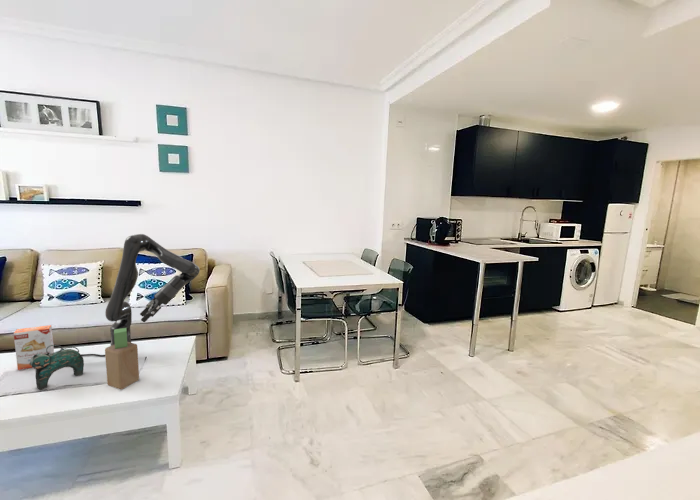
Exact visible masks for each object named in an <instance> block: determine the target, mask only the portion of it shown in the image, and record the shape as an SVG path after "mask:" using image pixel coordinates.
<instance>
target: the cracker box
mask: <svg viewBox="0 0 700 500" xmlns="http://www.w3.org/2000/svg"><path fill="white" fill-rule="evenodd" d="M13 340H14V341H13V342H14V349H15V358H16V368H17V371H21V370H26V369H34V368H33V367H32V366H31V364H30V360H31V358H32V357H33V356H34V355H36V354H40V353H44V354H47V352H48V353H49V355H50V354H52V353H54V352H55V346H50V345H53V344H54V336H53V327H52V324H49V325H40V326H32V327H23V328H17V329H16V330H14V332H13ZM48 346H50V347H48ZM47 347H48V349H47ZM46 349H47V352H46Z"/></svg>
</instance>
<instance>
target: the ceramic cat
mask: <svg viewBox="0 0 700 500" xmlns="http://www.w3.org/2000/svg"><path fill="white" fill-rule="evenodd" d="M55 345H56V344H54V345H50V346H54V347H56V346H55ZM50 346H48V347H50ZM48 347H47V349H48ZM47 349H46V352H47ZM63 349H64V350H63ZM63 349H61V348H60V350H57V351H54V353H52V354H50V355H49V353H48V352H47V354H44V353H40V354H36V355H34V356H33V357H32V358H31V360H30V364H31V366H32V367H33V368H32V369H34V370H35V384H36V389H38V390H39V391H41V390H44V389H47V388H48V384H49V380H50V378H51V376H52V375H53V374H54V373H55V372H57V371H58V370H61V369H64V368H71V369H72V371H73V375H74V376H75V377H80V376H82V375H83V374H84V366H85V361H84V356H81V355H80V354H81V353H80V350H79V348H77V347H76V346H68V347H63ZM75 349H76V350H75Z"/></svg>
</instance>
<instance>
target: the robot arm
mask: <svg viewBox="0 0 700 500" xmlns="http://www.w3.org/2000/svg"><path fill="white" fill-rule="evenodd" d="M122 248H123V249H122V255H121V260H120V265H119V268H118V272H117V275H116V278H115V283H114V286H113V289H112V293H111V295H110V298H109V301H108V302H107V305H106V308H105V311H104V316H105V319H106V320H107V321H109V322H112V323H113V322H114V323H113V324H112V325H111V326H110V328H109V331H110V346H112V345H115V341H114V330H115V329H121V328H126V330H127V342H130V343H132V334H131V333H132V331H131V325H132V319H133V318H132V317H133V314H132V313H133V311H132V306H131V305H130V303H129V302H127V301H125V300H126V298H127V297H128V296H129V295H130V293H131V292H132V291H133V289H134V288H135V285H136V284H137V281H138V276H139V270H138V267H137V263H136V262H137V258H138V255H139V253H141V252H145V251H146V252H149V253H151V254H153V255H154V256H155V257H157V258H158V259H159V261H160V262H161V263H163V264H164V265H166V266H168V267H170V268H172V269H174V270H176V271H178V272H181V273H180V274H176V275H174V276H173V277H171V279H170V280H169V281H168V282H167V283H165V284H164V285H163V286H162V287H161V288H160V289H159V290H158V291H157V292H156V293H155V294H154V295H153V298H152V299H151V300H150V301H149V302H148V303H147V304H146V305H145V307H144V309H143V310H141V312H140V313H139V316H141V318H140V321H141V322H142V323H146V322H147V321H148V320H149V319H150V318H153V317H154V316H155V315H157V313H158V312H159V311H161V309H162V307H161V306H162V305H164V306H165V305H168V304H169V303H170V302H171V301H172V300H173V299H174V298H175V297H176V295H178V293H179V292H180V291H181V290H182V289H183V288H184V287H185V286H186V285H187V284H188V283H190V282H192V281H193V280H194V279H196V277H197V276H199V274H200V271H201V270H200V267H199V266H198V265H197V264H196V263H194V262H193V261H191V260H188V259H185V258H183V257H182V256H180V255H178V254H177V253H175V252H172V251H171V250H169V249H167V248H165V247H164V246H162V245H161V244H159V242H156V241H155V240H153V239H152V238H151V237H150V236H148V235H146V234H144V233H138V234H132V235H129V236H127V237H126V238H125V240H124V243H123V247H122ZM53 345H55V346H54V347H58V348H59V349H60V350H61V349H63V350H64V347H63V346H61V344H54V343H53ZM80 355H81V356H82V357H86V356H88V357H89V356H96V357H100V358H101V357H105V354H97V353H82V354H81V353H80Z"/></svg>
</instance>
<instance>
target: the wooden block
mask: <svg viewBox="0 0 700 500" xmlns="http://www.w3.org/2000/svg"><path fill="white" fill-rule="evenodd" d="M127 346H128V347H123V348H117V349H115V345H112V346H111V345H110V346H107V347H105V348H104V355H105V356H104V358H105V368H106V369H105V370H106V383H107V386H109V387H111V388H115V389H118V390H123V389H125V388H127V387H130V386H131V385H133V384H135V383H136V382H138V381H139V380H140V368H139V367H140V366H139V351H138V344H137V343H134V342H131V343H130V342H127Z"/></svg>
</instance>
